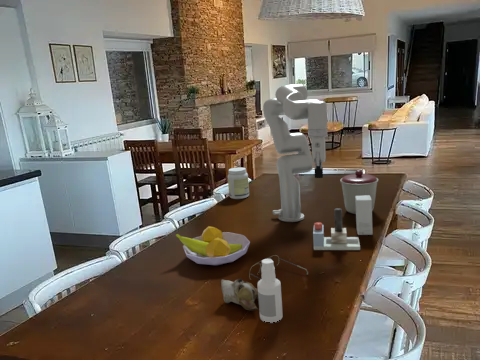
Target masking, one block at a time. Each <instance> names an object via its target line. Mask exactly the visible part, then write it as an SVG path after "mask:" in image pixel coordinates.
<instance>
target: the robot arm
mask: <svg viewBox="0 0 480 360" xmlns="http://www.w3.org/2000/svg"><path fill="white" fill-rule="evenodd" d="M274 95H275V97H272V98H269V99H267V100H265V101H264V103H263V106H262V111H263V116H264V118H265V119H264V120H265V122H266V123H267V124H268V127H269V129H270V132H271V135H272V136H271V137H272V141H273V144H274V148H275V150H276V153H278V154H280V155H282V156H280V157H279V158H278V159H277V161H276V169H277V173H278V179H279V190H280V191H279V194H280V209H274V210H272V215H274V216H278V220H279V221H281V222H285V223H295V222H300V221H303V220H304V219H305V215H304V213H302V206H301V188H300V187H301V186H300V180H299V179H297V177H295V175H298V174H299V175H300V174H305V173H310V172H311V171H312V170H313V169H314V178H315V179H323V177H324V168H323V163H325V162H326V158H327V157H326V156H327V155H326V154H327V153H326V137H328V105H327V102H325V100H319V99H308V95H309V93H308V90H307V87H306V86H305V85H304V84H301V83H297V84H286V85H281V86H279V87H278V88H277V89H276V91H275V94H274ZM280 116H286V117H287V118H289V119H291V120H293V121H294V120H295V121H298V120H307V134H308V135H307V137H308V138H309V139H310V138H311V139H310V141H311V149H310V145H309V142H308V138H307V137H306V135H305V134H304V133H302V132H290V130H289V125H288V124H287V122H286V121H285V120H284V119H283V118H281V117H280Z"/></svg>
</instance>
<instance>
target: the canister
mask: <svg viewBox="0 0 480 360" xmlns="http://www.w3.org/2000/svg"><path fill="white" fill-rule="evenodd" d="M339 180H340V183H341V189H342V195H343V203H344V208H345V210H346V211H347V212H348V213H350V214H352V215H356V204H355V196H364V195H370V197H371V200H372V211H373V210H374V207H375V204H376V203H375V201H376V195H377V194H376V193H377V186H378V182H379V178H378V177H376V176H375V175H373V174H369V173H368V174H367V173H363V171H362V170H361V169H357V170H356V171H355V173H351V174H346V175H344V176H343V177H342V178H340V179H339Z"/></svg>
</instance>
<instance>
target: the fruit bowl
mask: <svg viewBox="0 0 480 360" xmlns="http://www.w3.org/2000/svg"><path fill="white" fill-rule="evenodd" d="M175 237H176V238H178V239H179V241H180V242H181V243H182V244H183V245H182V248H183V250H184V253H185V255H186V258H188V259H190V260H191V261H193V262H195V264H199V265H209V266H220V265H223V264H227V263H233V262H234V261H236V260H238V259H239V258H241V257H242V256H245V254H247V252H248V249H249V247H250V243H251V241H250V240H249V239H248V238H247V236H245V235H243V234H241V233H234V232H227V231H226V232H225V231H224V232H222V230H221V229H218V228H217V227H214V226H210V225H208V226H207V227H206V228H205V229H204V230H203V231H202V234H201V235H200V236H196V237H193V238H190V237H186V236H182V235H180V234H179V233H177V234H175Z"/></svg>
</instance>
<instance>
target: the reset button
mask: <svg viewBox="0 0 480 360" xmlns="http://www.w3.org/2000/svg"><path fill="white" fill-rule="evenodd" d="M322 225H323V223H322V222H320V221H318V222H314V223H313V229H316V230H320V229H322Z"/></svg>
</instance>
